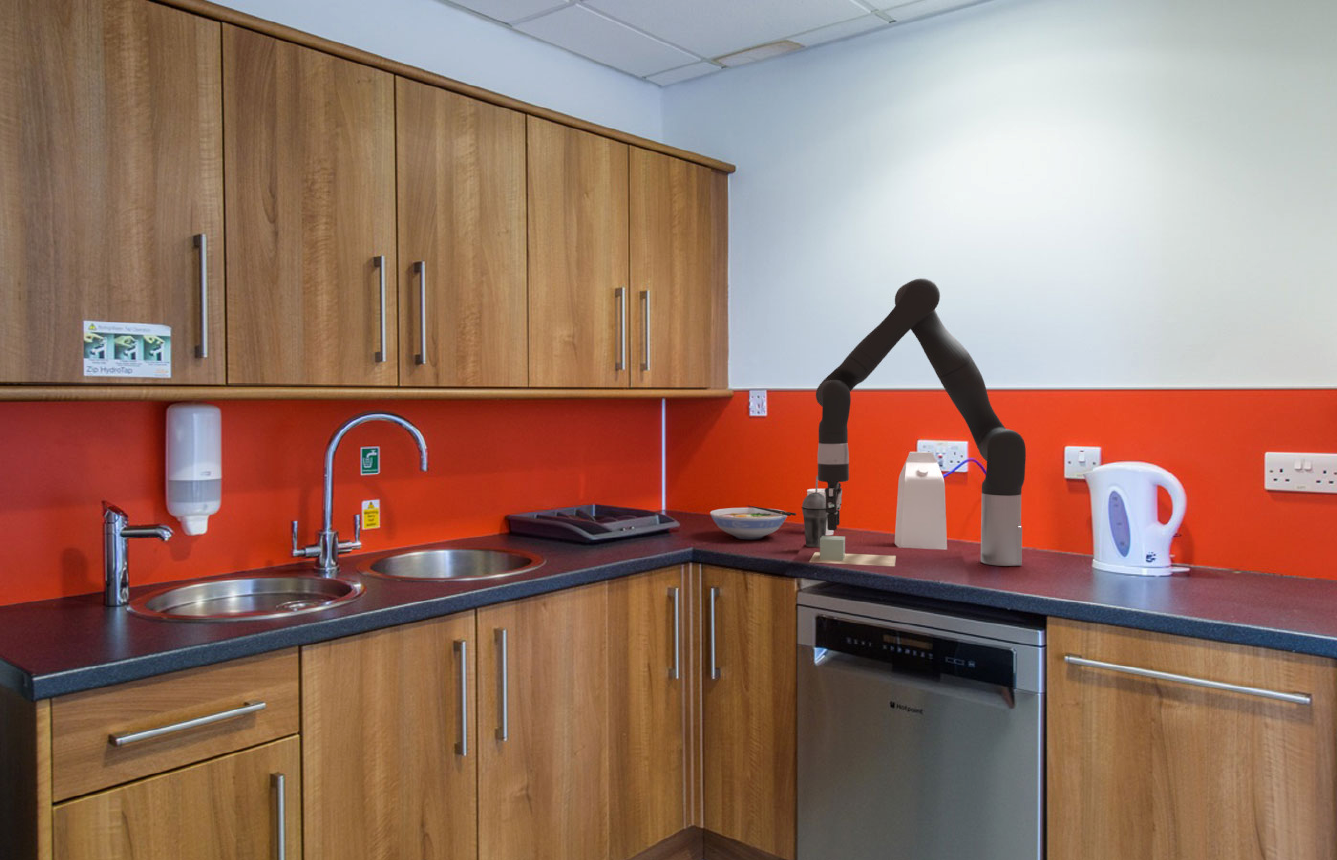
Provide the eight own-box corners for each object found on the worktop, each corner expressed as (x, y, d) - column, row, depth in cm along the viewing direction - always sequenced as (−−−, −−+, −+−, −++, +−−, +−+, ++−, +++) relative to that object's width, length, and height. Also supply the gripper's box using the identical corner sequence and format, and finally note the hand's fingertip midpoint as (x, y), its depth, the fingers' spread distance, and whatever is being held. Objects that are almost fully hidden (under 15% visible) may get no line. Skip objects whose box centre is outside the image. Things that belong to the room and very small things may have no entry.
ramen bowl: (694, 534, 271) (694, 506, 270) (760, 529, 280) (760, 502, 280) (735, 547, 248) (735, 517, 248) (806, 541, 258) (806, 512, 257)
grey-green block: (844, 556, 225) (845, 536, 225) (843, 560, 220) (843, 540, 219) (822, 555, 227) (822, 535, 226) (819, 559, 221) (820, 539, 221)
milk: (938, 544, 253) (939, 450, 252) (947, 551, 241) (948, 453, 240) (894, 543, 254) (895, 450, 253) (901, 550, 243) (902, 453, 242)
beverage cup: (797, 552, 240) (797, 476, 239) (806, 548, 246) (807, 474, 245) (824, 554, 236) (824, 478, 235) (832, 550, 243) (833, 475, 242)
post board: (895, 561, 226) (896, 539, 226) (894, 572, 213) (894, 549, 212) (814, 558, 231) (815, 536, 231) (808, 568, 218) (809, 545, 218)
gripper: (846, 464, 214) (847, 532, 215) (850, 459, 228) (851, 523, 229) (814, 463, 216) (815, 531, 217) (820, 459, 230) (821, 523, 231)
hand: (833, 527), depth 223 cm, fingers open, 8 cm apart
